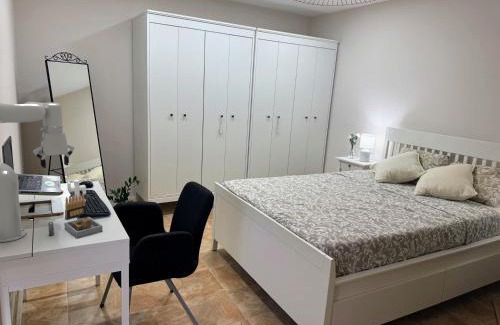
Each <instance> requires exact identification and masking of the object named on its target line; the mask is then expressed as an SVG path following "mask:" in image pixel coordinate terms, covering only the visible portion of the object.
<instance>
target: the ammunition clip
mask: <svg viewBox="0 0 500 325" xmlns="http://www.w3.org/2000/svg"><path fill="white" fill-rule="evenodd" d="M81 197H82V200H81ZM71 198H72V200H71ZM85 200H86V199H85V194H83V193H82V194H81V193H80V194H79V201H78V196H77V195H76V198H75V194H74V195H72V196H68V197H67V196H66V197H65V209H64V219H65V220H67V221H68V220H72V219H75V218H78V217H80V216H79V213H81V212H86V213H87V207H86V206H87V205H86V202H85Z"/></svg>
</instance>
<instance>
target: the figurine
mask: <svg viewBox="0 0 500 325" xmlns="http://www.w3.org/2000/svg"><path fill="white" fill-rule="evenodd" d="M66 184H67V185H66V186H67V192H69V193H72V192H73V193H74V198H76V195H77V196H78V201H79V194H80V195H81V193H80V191H81V192H82V194H84V195H86V194H87V186H86V185H85V184H82V185H81V184H80V180H79V179H73V186H72V184H71V182H70V181H68V182H67V183H66ZM71 200H72V197H71ZM81 200H82V196H81ZM86 202H87V199H85V203H86Z"/></svg>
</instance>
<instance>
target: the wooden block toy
mask: <svg viewBox="0 0 500 325" xmlns="http://www.w3.org/2000/svg"><path fill="white" fill-rule="evenodd" d="M88 217H89V216H87V217H84V218H80V219H81V220H80V221H76V222H72V227H73V228H74V229H75V230H76V231H81V230H85V229H89V228H92V225H91V219H89V218H88Z"/></svg>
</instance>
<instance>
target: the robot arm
mask: <svg viewBox="0 0 500 325" xmlns="http://www.w3.org/2000/svg"><path fill="white" fill-rule="evenodd" d="M62 110H63V109H62V105H61V104H60V103H58V102H38V101H26V102H25V103H23V104H22V103H21V104H20V103H18V104H13V103H12V104H11V103H10V104H9V103H1V102H0V124H3V123H4V124H9V123H11V124H13V123H14V124H15V123H16V124H17V123H31V122H32V123H34V122H39V121H41V120H42V123H43V127H40V129H39V130H40V132H42V134H41V135H42V136H41V141H40V142H41V143H40V146H39V147H36V148H35V149H33V150H32V152H33V154H34V155H35V156H36V157H37V158H38V159H39V160H40V166H41V168H42V169H47V161H46V157H48V156H59V155H64V156H63V165H65V166H69V164H70V157H71V155H72V154H73V152H74V150H75V147H74V146H71V145H69V144H68V141H67V136H66V133H65V132H63V131H64V130H63V113H62ZM68 149H69V150H68ZM40 151H41V154H40V153H39V152H40ZM26 235H27V232H26V229H25V228H23V227H22V218H21V206H20V196H19V177H18V175H17V173H16V171H15V170H14V169H13V168H12V167H11V166H10V165H9V164H6V163H3V162H2V161H0V243H8V242H14V241H17V240H19V239H21V238H24V237H25V236H26Z"/></svg>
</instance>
